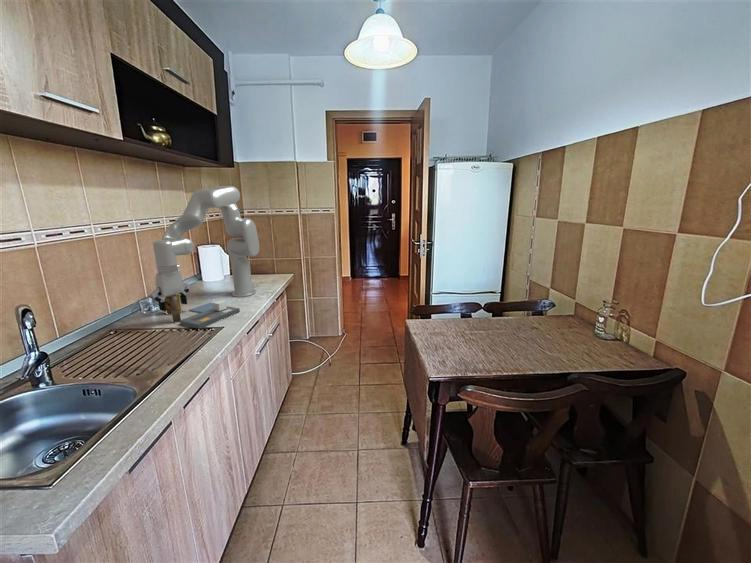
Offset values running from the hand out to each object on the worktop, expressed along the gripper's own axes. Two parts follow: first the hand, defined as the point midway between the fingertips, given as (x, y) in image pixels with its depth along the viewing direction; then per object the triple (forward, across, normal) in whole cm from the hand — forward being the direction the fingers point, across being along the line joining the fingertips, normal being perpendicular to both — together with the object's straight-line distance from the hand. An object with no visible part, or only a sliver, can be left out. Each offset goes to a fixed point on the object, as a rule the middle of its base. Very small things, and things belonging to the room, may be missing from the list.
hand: (174, 307), depth 148 cm
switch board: (+7, -9, +11) cm, 16 cm away
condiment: (+7, -8, -14) cm, 18 cm away
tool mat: (+7, -18, -3) cm, 20 cm away
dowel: (+7, 0, 0) cm, 7 cm away
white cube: (+4, -15, +10) cm, 19 cm away
